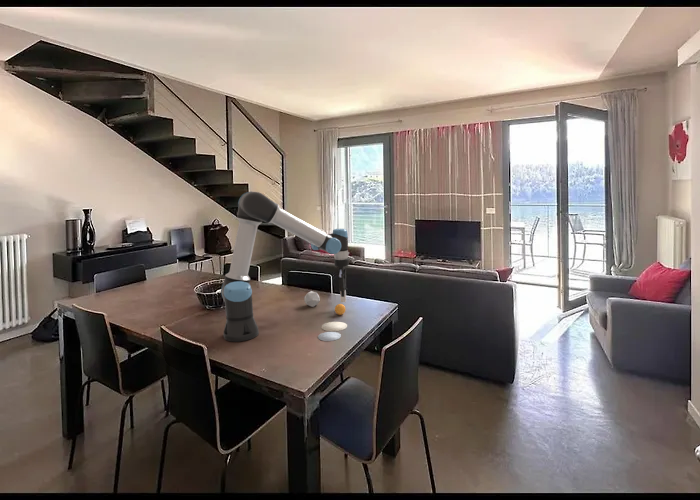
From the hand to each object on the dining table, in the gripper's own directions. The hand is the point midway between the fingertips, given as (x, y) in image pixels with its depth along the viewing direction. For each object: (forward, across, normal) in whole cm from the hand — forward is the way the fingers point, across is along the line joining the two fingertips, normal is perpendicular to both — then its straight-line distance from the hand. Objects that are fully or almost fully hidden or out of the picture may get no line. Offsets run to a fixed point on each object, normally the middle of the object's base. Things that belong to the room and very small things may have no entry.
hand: (343, 301), depth 205 cm
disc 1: (+4, -27, 0) cm, 27 cm away
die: (+4, +4, +18) cm, 19 cm away
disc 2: (+4, -39, 0) cm, 39 cm away
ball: (+1, -10, 0) cm, 10 cm away
